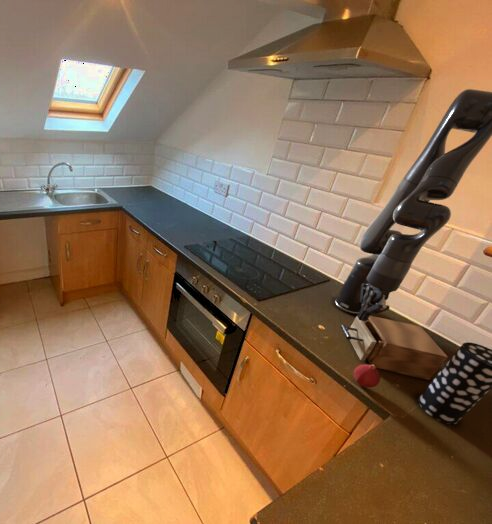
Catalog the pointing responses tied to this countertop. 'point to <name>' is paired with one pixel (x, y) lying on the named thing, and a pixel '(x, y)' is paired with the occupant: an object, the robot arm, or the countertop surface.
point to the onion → (367, 375)
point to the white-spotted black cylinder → (459, 384)
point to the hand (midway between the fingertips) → (361, 319)
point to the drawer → (363, 339)
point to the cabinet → (406, 349)
